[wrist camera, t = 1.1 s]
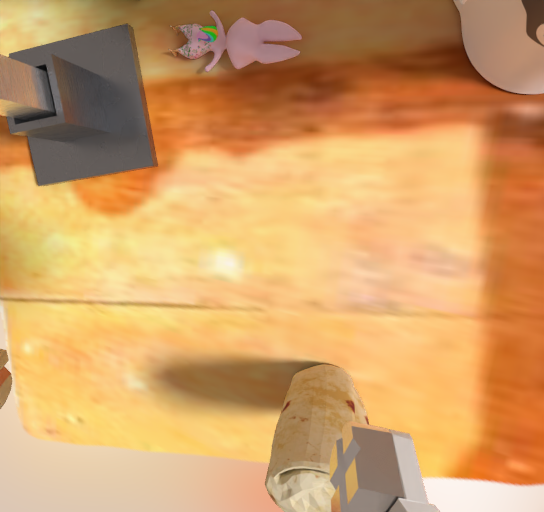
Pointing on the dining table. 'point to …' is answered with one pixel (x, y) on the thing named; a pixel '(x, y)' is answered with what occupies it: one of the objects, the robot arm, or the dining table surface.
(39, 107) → the steel column
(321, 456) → the food model
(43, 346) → the dining table surface
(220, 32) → the rabbit figure
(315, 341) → the dining table surface
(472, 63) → the robot arm
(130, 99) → the stand base
